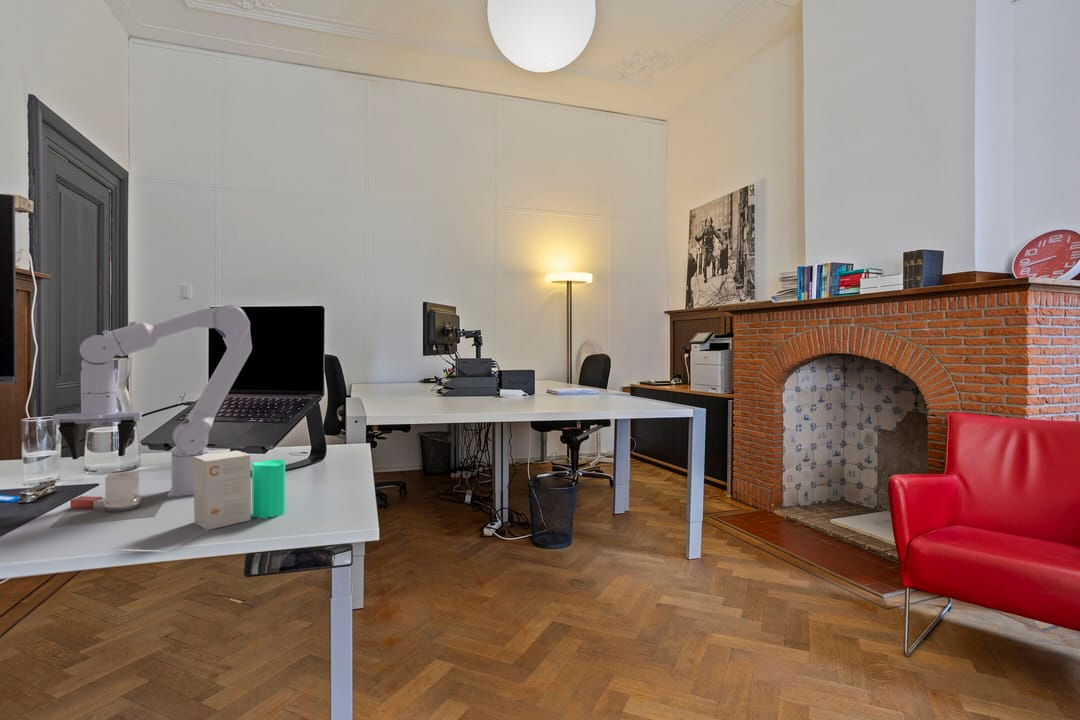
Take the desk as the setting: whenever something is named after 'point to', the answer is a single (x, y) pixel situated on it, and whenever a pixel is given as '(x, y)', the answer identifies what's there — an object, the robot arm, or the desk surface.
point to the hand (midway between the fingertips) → (99, 456)
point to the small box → (222, 489)
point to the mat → (98, 515)
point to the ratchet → (105, 504)
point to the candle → (268, 488)
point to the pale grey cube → (121, 486)
